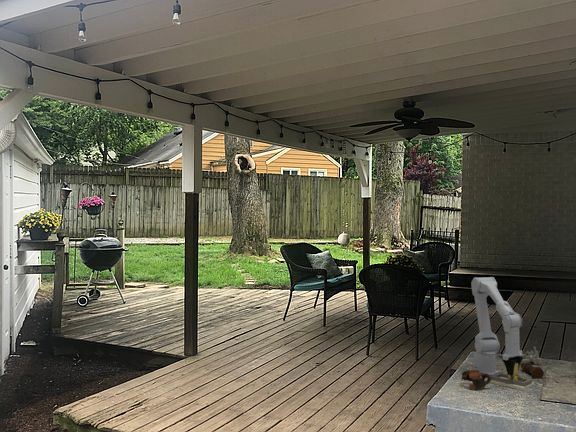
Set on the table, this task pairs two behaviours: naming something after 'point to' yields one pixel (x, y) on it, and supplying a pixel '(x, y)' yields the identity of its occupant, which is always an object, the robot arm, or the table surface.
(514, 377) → the brass peg
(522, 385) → the keyhole plate
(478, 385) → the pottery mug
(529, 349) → the bike brake
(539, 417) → the table surface
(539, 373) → the bolt
